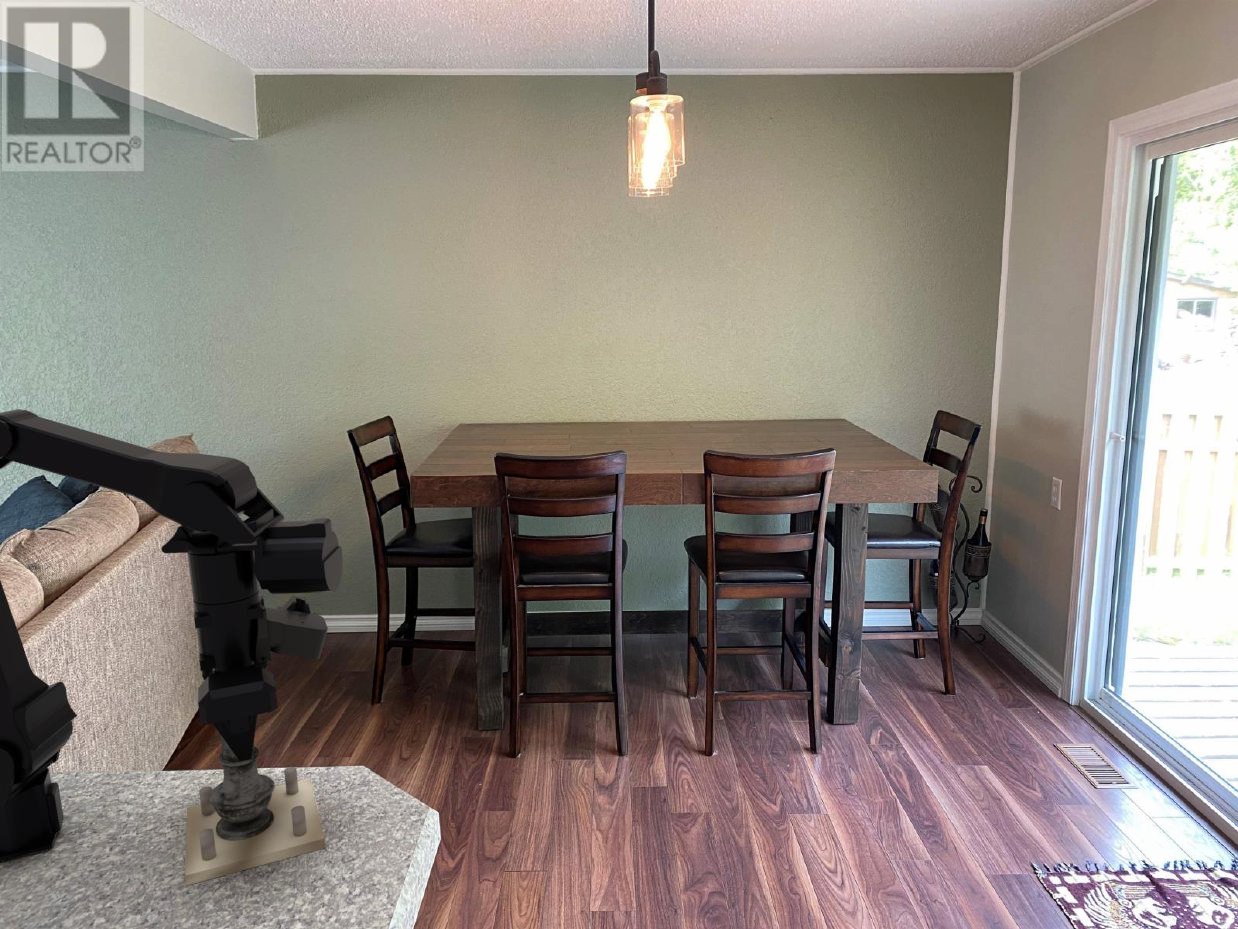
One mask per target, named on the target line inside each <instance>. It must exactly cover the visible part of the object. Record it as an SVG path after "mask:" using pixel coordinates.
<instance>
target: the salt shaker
mask: <svg viewBox="0 0 1238 929" xmlns="http://www.w3.org/2000/svg"><path fill="white" fill-rule="evenodd" d="M220 741H221V751H222V752H221V754H220V755H219V756H218V762H219V763H220V764H221V765H222V771H223V780H222V782H220V783H219V784H217V785H216V786H215V787H214V788H212V791H211V793H210V796H209V800H210V803H211V804H212V805H213V806H214V809H215V811H216V812H217V814H218V815H219V816H220V817H221V819H220V821H219V822H218V823H217V826H216V833H217V834H218V836H220V837H221V838H223V839H227V840H242V839H247V838H251V837H253V836H256V835H258V834H260V833H262V832H264V831H265V830H266V829H268V828H269V827H270V826H271V824H272V823H273V820H274V814H273V812H272V811H271V810H270V809H268V808H267V806H268V805H269V802H270V799H271V796H272V792H273V790H274V787H275V786H276V785H275V781H274V780H273V779H272V778H271V777H270V776H267V775H265V774H261V773H259V771H258V766H257V765H258V763H257V757H258V756H259V754H260V750H259V748H258V747H256V746H255V744H254V745H253V752H252V758H251V759H249V760H245V761H239V760H238V759H237V757H236V756H235V754H234V753H233V752H232V750H231V749H230V747H229V746H228V745H227V743H226V742H225V740H224V739H223V737H222V736H221V735H220Z"/></svg>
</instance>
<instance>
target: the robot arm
mask: <svg viewBox="0 0 1238 929" xmlns="http://www.w3.org/2000/svg"><path fill="white" fill-rule="evenodd" d="M13 462H14V463H18V464H21V465H24V466H27V467H31V468H35V469H38V470H42V471H45V472H49V473H52V474H55V475H58V476H61V477H62V476H63V477H66V478H70V479H73V480H77V481H80V482H83V483H86V484H87V483H88V484H91V485H94V486H97V487H101V488H104V489H108V490H111V491H115V492H118V493H122V494H124V495H125V494H126V495H129V496H131V497H133V498H136V499H137V500H140V501H142V502H143V503H145V504H146V505H147V506H148V507H149V508H150V509H152V510H153V511H154V512H155V513H156V514H158V515H159V516H160V517H163V518H165V519H167V520H170V521H172V522H174V523H176V524H178V525H179V526H177V529H176V531H175V532H174V534H173V536H172V537H171V538H170V539H169V540H168V541H167V542H166V543H165V544H164V545H162V546H161V552H162V553H163V554H187V560H188V562H187V563H188V569H189V578H190V585H191V594H192V602H193V609H194V610H193V611H194V612H193V620H194V627H195V629H196V635H197V643H198V644H197V645H198V653H199V655H198V656H199V659H198V660H199V670H200V672H201V676H202V678H203V682H202V683H201V684H200V685H199V686H198V689H197V693H198V695H197V705H198V706H197V707H198V714H199V722H200V724H201V725H202V724H203V725H206V726H207V725H213V727H214V728H215V729H216V731H217V732H218V733H219V735H220V737H221V736H222V737H223V739H224V740H225V742H226V743H227V745H228V746H229V747H230V749H231V750H232V752H233V753H234V754H235V756H236V757H237V759H238V760H239V761H245V760H249V759H251V758H252V752H253V745H254V746H255V737H256V736H255V735H256V729H257V721H258V716H259V715H262V714H268V713H271V712H274V711H275V710H277V709H278V708H279V706H278V697H277V686H276V683H275V678H274V673H272V672H271V671H269V670H267V669H266V668H267V667H268V665H269V661H272V653H274V654H278V655H284V656H292V657H299V658H304V660H307V661H318V660H320V657H321V653H322V650H323V647H324V643H325V639H326V637H327V634H328V630H329V628H328V624H327V622H326V619H325V618H324V617H323V616H321V615H320V614H319V612H316V611H315V612H314V613H312V612H311V609H310V605H309V604H310V603H309V601H308V598H307V597H302V596H296V595H295V596H294V595H292V596H291V597H290V598H289V600H287V601H286V602H285V603H284V605H282V606H279V605H278V606H276V608H272V607H266V606H265V599H264V595H261V592H260V588H261V590H267V591H268V593H270V594H272V595H282V594H283V595H284V594H285V595H286V594H308V593H309V594H312V593H313V594H315V593H334V592H336V591H337V590H338V588H339V586H340V583H341V579H342V572H343V549H342V546H341V545H340V542H339V539H338V536H337V534H336V533H335V532H334V531H333V530H332V521H331V519H330V518H328V517H326V518H325V517H323V518H314V519H310V520H301V521H300V520H299V521H298V520H297V521H284V520H285V516H284V514H282V512H281V511H280V510H279V509H278V508H277V506H275V505H274V503H273V502H272V501H271V500H270V499H269V498H268V496H266V495H265V494H264V492H263V491H262V490H261V489H260V488H259V487H258V485H257V482H256V481H257V480H256V478H255V476H254V474H253V472H252V471H251V468H250V466H249V465H248V464H246V463H245V462H243V461H241V460H239V459H238V458H236V457H235V458H234V457H229V456H222V455H215V454H214V455H213V454H204V453H183V452H180V453H179V452H178V453H177V452H164V451H158V450H154V449H150V448H146V447H143V446H140V445H136V444H133V443H130V442H126V441H123V440H120V439H116V438H113V437H110V436H107V435H102V434H100V433H95V432H92V431H90V430H85V429H83V428H78V427H75V426H72V425H69V424H65V423H62V422H59V421H56V420H51V419H49V418H45V417H42V416H39V415H38V414H36V413H34V412H32V411H29V410H26V409H21V408H20V409H19V408H18V409H13V410H9V411H2V412H0V470H2V469H4V468H5V467H8V466H9V465H10V464H12V463H13ZM241 515H245V516H246V517H247V518H246V519H244V520H243V519H242V518H241V517H240V516H241ZM9 604H10V603H9V601H8V598H7V595H6V593H5V589H4V587H3V584H2V580H1V579H0V862H3V861H7V860H11V859H15V858H20V857H24V856H27V855H32V854H36V853H40V852H44V851H49V850H50V849H52V848H53V847H54V844H55V841H56V838H57V833H58V834H59V832H60V831H61V830H62V825H63V823H64V822H63V821H64V818H65V817H64V811H63V805H62V799H61V793H60V786H59V783H58V782H56V781H54V782H52V781H51V780H52V779H51V778H52V777H51V774H50V768H49V767H50V766H51V765H52V764H55V763H56V762H57V761H58V760H59V758H60V754H61V750H62V748H63V747H64V746H66V745H67V743H68V741H69V740H70V738H71V736H72V735H73V731H74V725H73V720H74V719H75V718H77V717H78V714H77V713H76V712H75V711H74V709H72V706H71V705H70V702H69V699H68V693H67V688H66V686H65V683H64V682H63V681H57V682H55V683H52V684H48V683H47V682H45V680H43V679H42V678H40V677H39V676H37V675H36V674H35V673H34V672H33V670H32V668H31V664H30V662H29V659H28V657H27V653H26V650H25V647H24V646H23V642H22V639H21V636H20V633H19V630H18V628H17V624H16V621H15V619H14V616H13V612H12V610H11V607H10V605H9Z"/></svg>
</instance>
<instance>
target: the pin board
mask: <svg viewBox="0 0 1238 929" xmlns="http://www.w3.org/2000/svg"><path fill="white" fill-rule="evenodd" d="M283 772H284V773H283V774H284V783H283V784H280V785H275V787H274V790H273V792H272V796H271V799H270V802H269V805H268V806H267V808H268V809H270V810H271V811H272V812H273V814H274V820H273V823H272V824H271V826H270V827H269V828H268V829H266V830H265V831H264V832H262V833H260V834H258V835H256V836H253V837H251V838H247V839H242V840H227V839H223V838H221V837H220V836H218V834H217V833H216V826H217V823H218V822H219V821H220V819H221V817H220V816H219V815H218V814H217V812H216V811H215V809H214V806H213V805H212V804H211V803H210V800H209V796H210V793H211V791H212V790H213V787H212V786H210V785H209V786H208V785H207V786H204V787H202V788H200V789H198V792H199V793H198V794H199V795H198V796H199V801H200V804H196V805H192V806H187V807H186V818H185V819H186V822H185V823H186V826H185V827H186V828H185V830H186V831H185V854H184V855H185V857H184V858H185V860H184V861H185V862H184V865H185V866H184V878H185V885H186V886H189V885H193V884H197V883H201V882H205V881H208V880H212V879H216V878H219V877H223V876H227V875H230V874H234V873H238V872H241V871H244V870H248V869H252V868H256V867H259V866H260V867H261V866H263V865H267V864H270V863H274V862H278V861H281V860H285V859H289V858H292V857H296V856H300V855H303V854H307V853H312V852H314V851H315V852H316V851H319V850H322V849H323V850H324V849H325V848H326V841H325V840H326V839H325V835H324V831H323V826H322V821H321V817H320V813H319V807H318V804H317V800H316V796H315V792H314V787H313V782H312V779H311V777H308V778H304V779H301V780H298V772H297V767H296V766H289V767H286V768H285V769H284V771H283Z"/></svg>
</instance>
